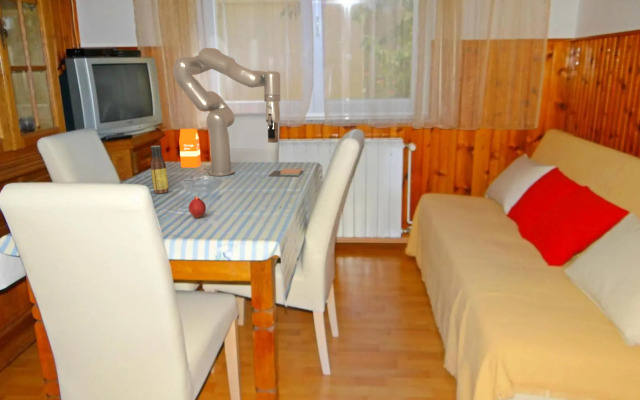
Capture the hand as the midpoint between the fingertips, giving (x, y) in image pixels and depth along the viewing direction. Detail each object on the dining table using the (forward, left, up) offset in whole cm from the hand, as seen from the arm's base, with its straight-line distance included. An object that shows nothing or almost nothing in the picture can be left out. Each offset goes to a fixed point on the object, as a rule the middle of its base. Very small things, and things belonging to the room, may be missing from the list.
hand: (272, 137), depth 247 cm
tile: (+4, +2, -17) cm, 18 cm away
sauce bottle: (-39, -40, -19) cm, 59 cm away
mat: (+6, +1, -19) cm, 20 cm away
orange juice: (-51, +20, -19) cm, 58 cm away
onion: (-8, -75, -19) cm, 77 cm away
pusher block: (0, 0, -2) cm, 2 cm away
